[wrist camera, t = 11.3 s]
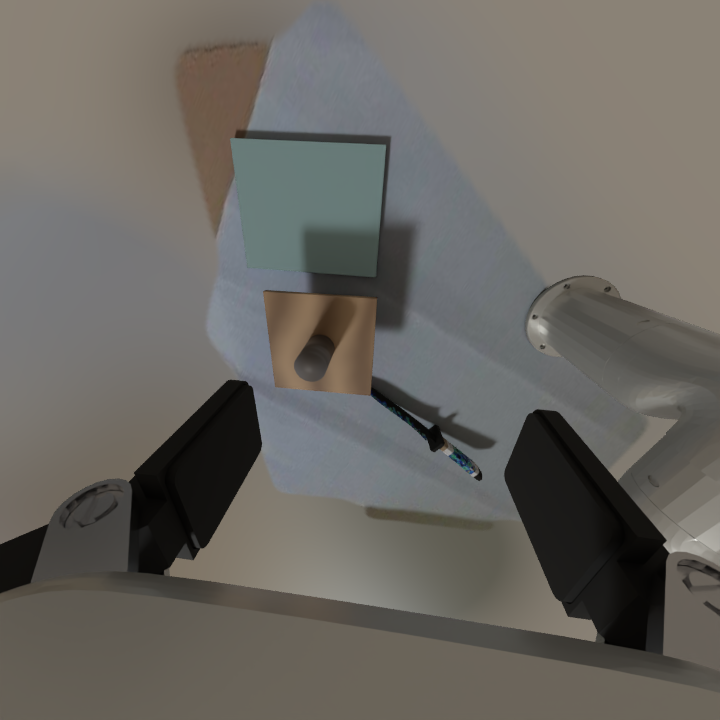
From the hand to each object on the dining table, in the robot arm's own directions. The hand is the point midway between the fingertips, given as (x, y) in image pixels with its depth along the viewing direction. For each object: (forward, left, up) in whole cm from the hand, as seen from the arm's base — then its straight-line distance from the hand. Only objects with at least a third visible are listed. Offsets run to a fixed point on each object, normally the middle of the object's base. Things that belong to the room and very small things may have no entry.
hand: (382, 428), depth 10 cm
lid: (+9, +10, -28) cm, 31 cm away
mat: (+12, -6, -36) cm, 38 cm away
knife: (-9, +29, -36) cm, 47 cm away
